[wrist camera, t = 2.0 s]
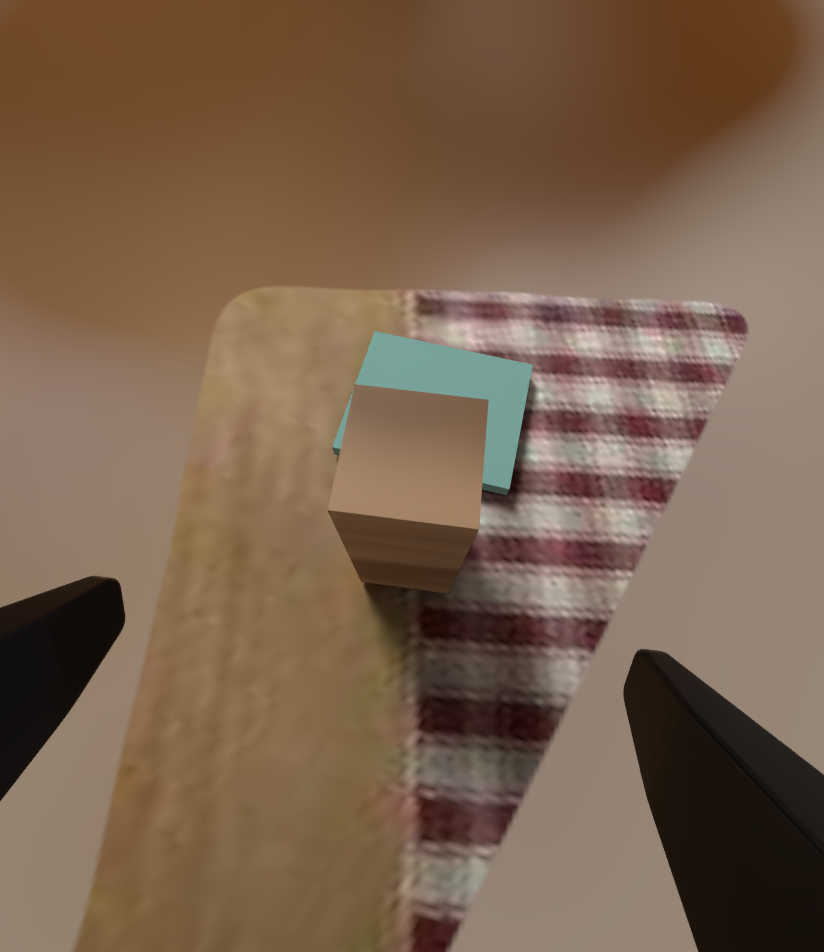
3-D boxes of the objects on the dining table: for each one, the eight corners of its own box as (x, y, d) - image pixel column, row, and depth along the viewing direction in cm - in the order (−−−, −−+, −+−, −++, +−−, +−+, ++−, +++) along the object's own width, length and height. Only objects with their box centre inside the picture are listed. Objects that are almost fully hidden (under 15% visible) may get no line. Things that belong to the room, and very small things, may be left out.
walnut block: (447, 593, 21) (478, 529, 12) (361, 582, 21) (327, 510, 12) (455, 511, 23) (488, 399, 14) (375, 501, 23) (354, 384, 14)
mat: (506, 495, 23) (509, 489, 22) (334, 454, 24) (332, 447, 23) (529, 373, 26) (532, 364, 25) (375, 340, 27) (374, 331, 26)
